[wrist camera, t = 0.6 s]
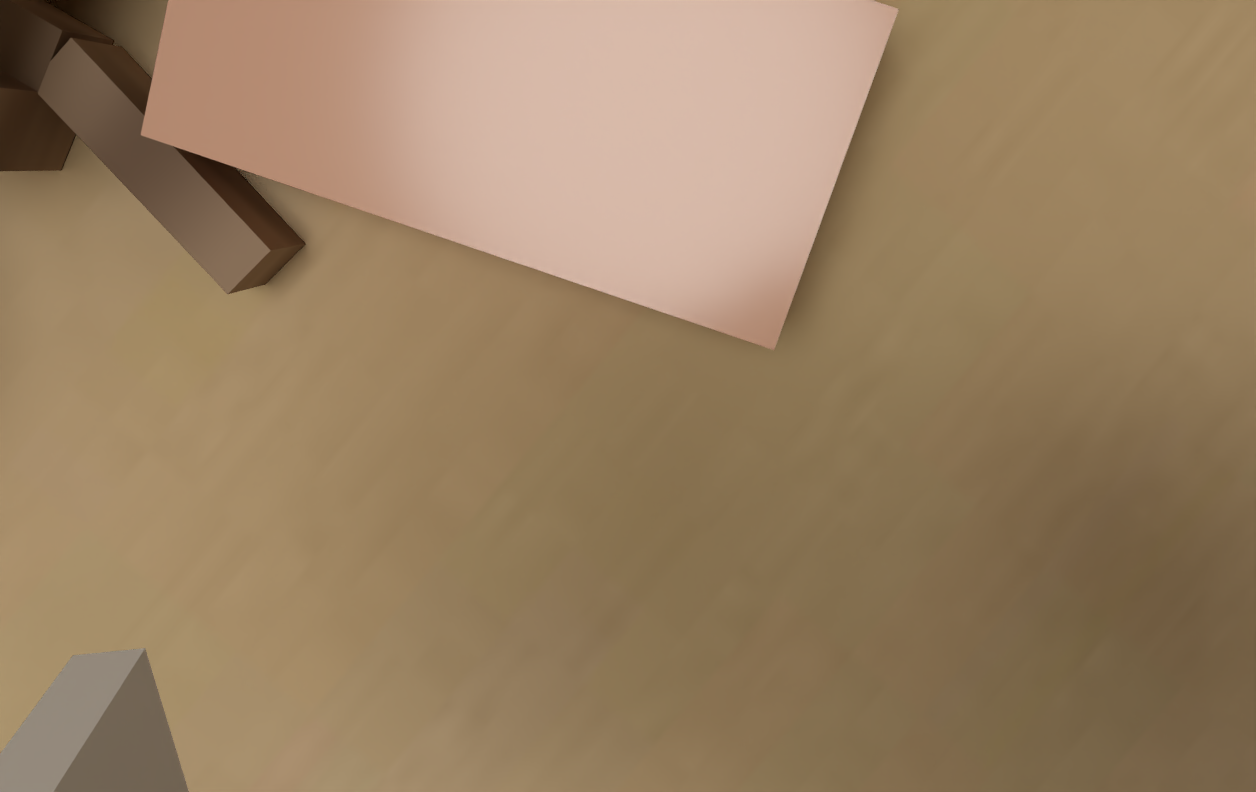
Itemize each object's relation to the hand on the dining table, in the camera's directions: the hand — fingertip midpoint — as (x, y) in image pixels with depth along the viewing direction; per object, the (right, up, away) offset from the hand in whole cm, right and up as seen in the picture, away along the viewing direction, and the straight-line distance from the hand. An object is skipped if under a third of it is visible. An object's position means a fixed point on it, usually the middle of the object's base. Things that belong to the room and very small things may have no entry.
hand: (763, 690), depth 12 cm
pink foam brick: (-4, +11, +14) cm, 18 cm away
